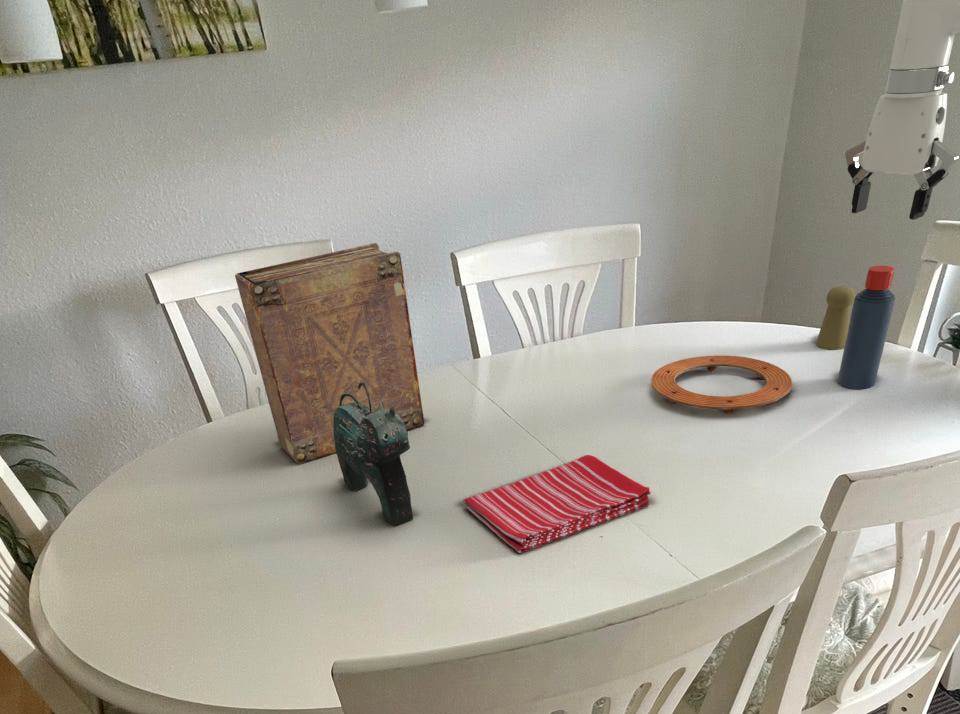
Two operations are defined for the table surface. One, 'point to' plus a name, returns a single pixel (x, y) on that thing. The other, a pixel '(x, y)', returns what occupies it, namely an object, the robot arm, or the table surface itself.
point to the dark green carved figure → (374, 454)
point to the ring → (771, 392)
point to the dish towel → (557, 502)
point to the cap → (879, 278)
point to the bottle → (865, 338)
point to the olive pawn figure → (836, 318)
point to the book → (331, 342)
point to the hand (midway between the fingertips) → (886, 214)
